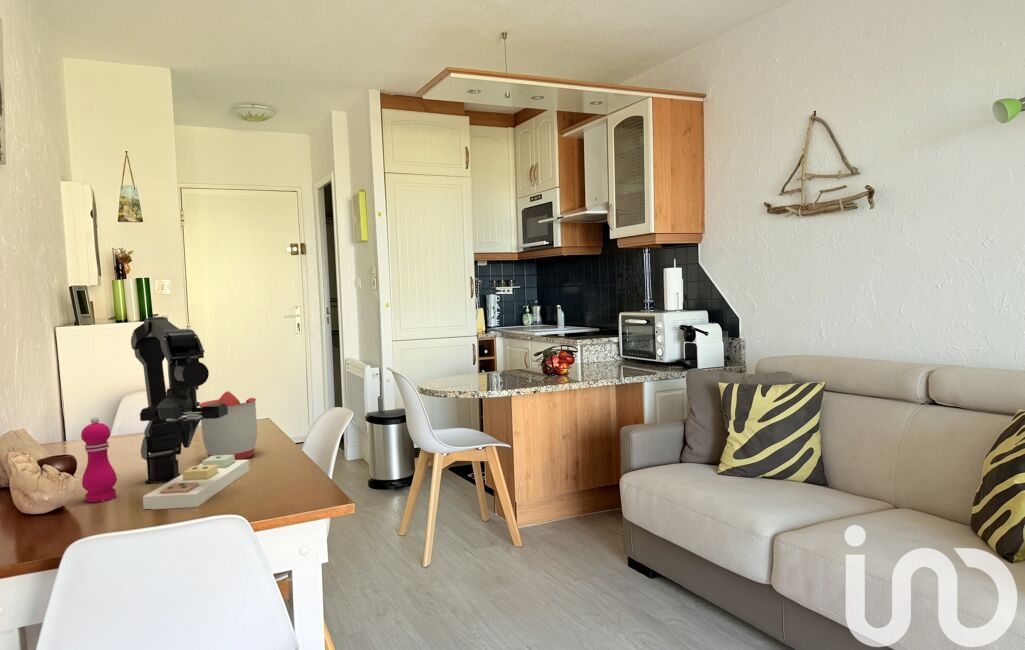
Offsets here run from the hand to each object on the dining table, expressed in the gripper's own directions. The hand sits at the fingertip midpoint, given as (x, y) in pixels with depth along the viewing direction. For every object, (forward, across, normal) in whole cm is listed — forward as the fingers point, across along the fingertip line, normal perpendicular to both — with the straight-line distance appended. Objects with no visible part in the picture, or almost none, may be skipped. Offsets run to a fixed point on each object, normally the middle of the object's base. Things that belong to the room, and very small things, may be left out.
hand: (186, 447), depth 165 cm
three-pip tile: (+10, 0, -5) cm, 12 cm away
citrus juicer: (+12, -5, +38) cm, 41 cm away
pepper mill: (+12, -22, 0) cm, 25 cm away
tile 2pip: (+9, 0, +6) cm, 11 cm away
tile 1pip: (+9, 0, +17) cm, 19 cm away
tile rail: (+12, 0, +6) cm, 13 cm away
